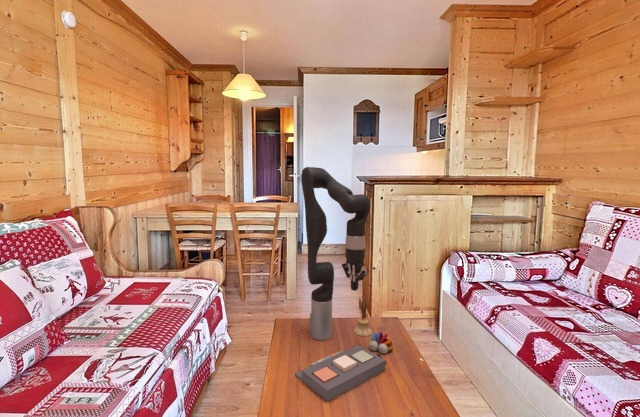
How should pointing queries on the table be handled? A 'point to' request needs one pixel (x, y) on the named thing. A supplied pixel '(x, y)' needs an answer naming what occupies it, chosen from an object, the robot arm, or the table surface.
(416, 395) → the table surface
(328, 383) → the keypad
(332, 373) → the key terracotta
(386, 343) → the rainbow petal flower toy
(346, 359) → the key cream
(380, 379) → the table surface
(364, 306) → the hand bell
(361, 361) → the key sage
